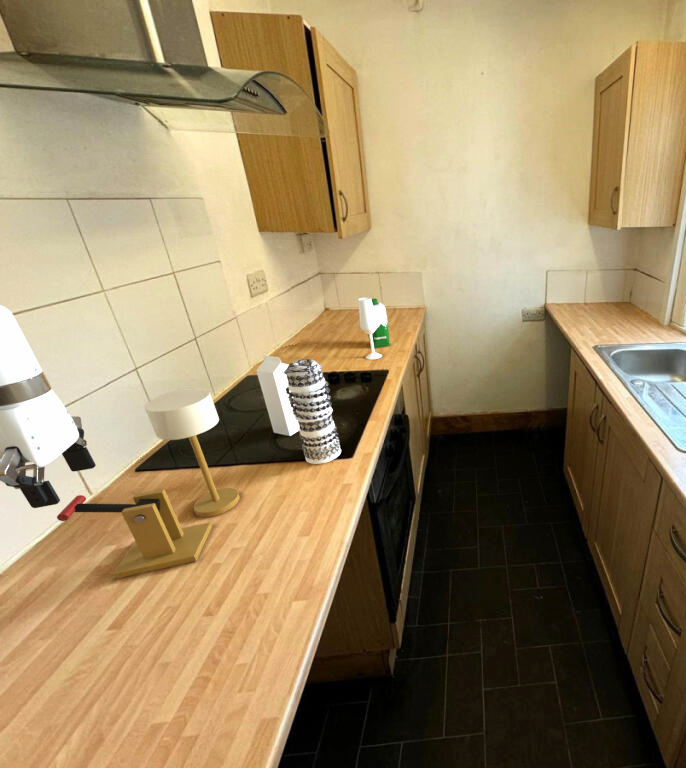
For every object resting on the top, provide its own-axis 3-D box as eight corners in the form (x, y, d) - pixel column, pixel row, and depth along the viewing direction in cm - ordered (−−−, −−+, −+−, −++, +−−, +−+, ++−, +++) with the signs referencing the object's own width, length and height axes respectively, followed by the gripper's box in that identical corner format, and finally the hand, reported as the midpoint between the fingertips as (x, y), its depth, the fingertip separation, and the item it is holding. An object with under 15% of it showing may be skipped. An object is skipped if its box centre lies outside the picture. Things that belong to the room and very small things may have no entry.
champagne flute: (367, 360, 168) (357, 301, 158) (364, 355, 173) (354, 298, 164) (383, 357, 171) (375, 299, 161) (380, 352, 176) (371, 296, 167)
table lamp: (181, 525, 83) (133, 415, 73) (198, 494, 92) (158, 392, 81) (238, 514, 86) (200, 406, 76) (249, 485, 94) (216, 385, 84)
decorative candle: (335, 464, 101) (313, 369, 91) (297, 465, 101) (271, 370, 91) (348, 444, 110) (329, 355, 100) (312, 445, 110) (291, 356, 100)
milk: (290, 436, 114) (269, 361, 105) (273, 432, 116) (252, 359, 107) (307, 425, 119) (289, 353, 110) (290, 422, 121) (271, 351, 112)
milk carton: (387, 340, 192) (381, 297, 183) (392, 346, 184) (386, 301, 176) (367, 343, 188) (360, 299, 180) (372, 349, 180) (365, 303, 172)
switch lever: (57, 523, 67) (55, 511, 66) (75, 504, 71) (74, 492, 70) (151, 523, 71) (150, 512, 71) (163, 505, 76) (163, 494, 75)
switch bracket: (115, 579, 71) (85, 525, 66) (139, 541, 79) (114, 491, 74) (196, 561, 75) (174, 509, 70) (212, 526, 82) (193, 478, 78)
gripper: (21, 373, 67) (70, 461, 74) (-77, 422, 52) (-4, 528, 59) (79, 366, 69) (121, 453, 76) (0, 412, 54) (62, 515, 61)
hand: (66, 485), depth 67 cm, fingers open, 9 cm apart
